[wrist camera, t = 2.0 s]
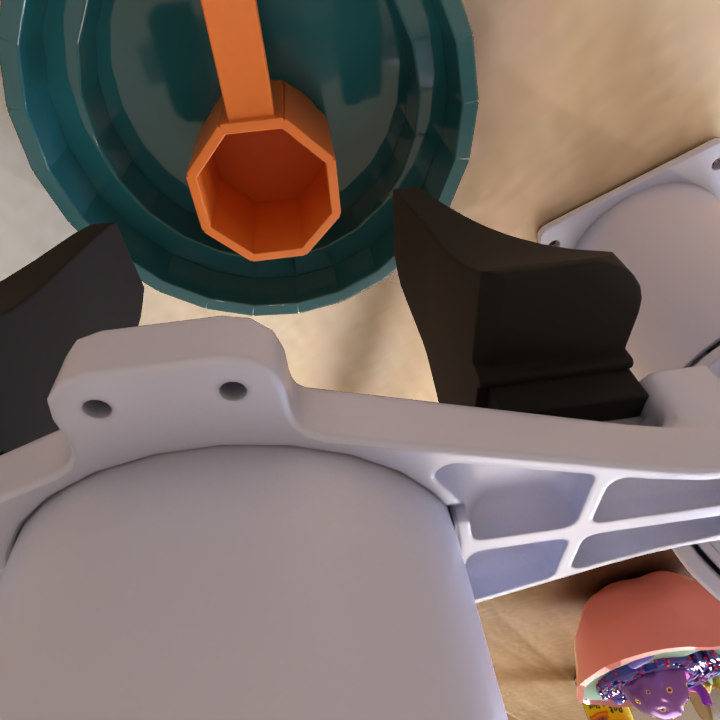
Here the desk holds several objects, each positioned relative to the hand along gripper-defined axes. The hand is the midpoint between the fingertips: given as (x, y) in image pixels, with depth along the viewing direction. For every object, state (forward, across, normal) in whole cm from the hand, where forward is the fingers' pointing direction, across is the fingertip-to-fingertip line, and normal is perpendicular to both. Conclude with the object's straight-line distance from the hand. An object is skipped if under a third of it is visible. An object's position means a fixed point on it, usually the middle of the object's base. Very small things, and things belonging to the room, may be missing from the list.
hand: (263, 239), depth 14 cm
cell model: (+7, -28, +48) cm, 56 cm away
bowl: (+7, 0, -2) cm, 8 cm away
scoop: (+7, 0, -2) cm, 7 cm away
